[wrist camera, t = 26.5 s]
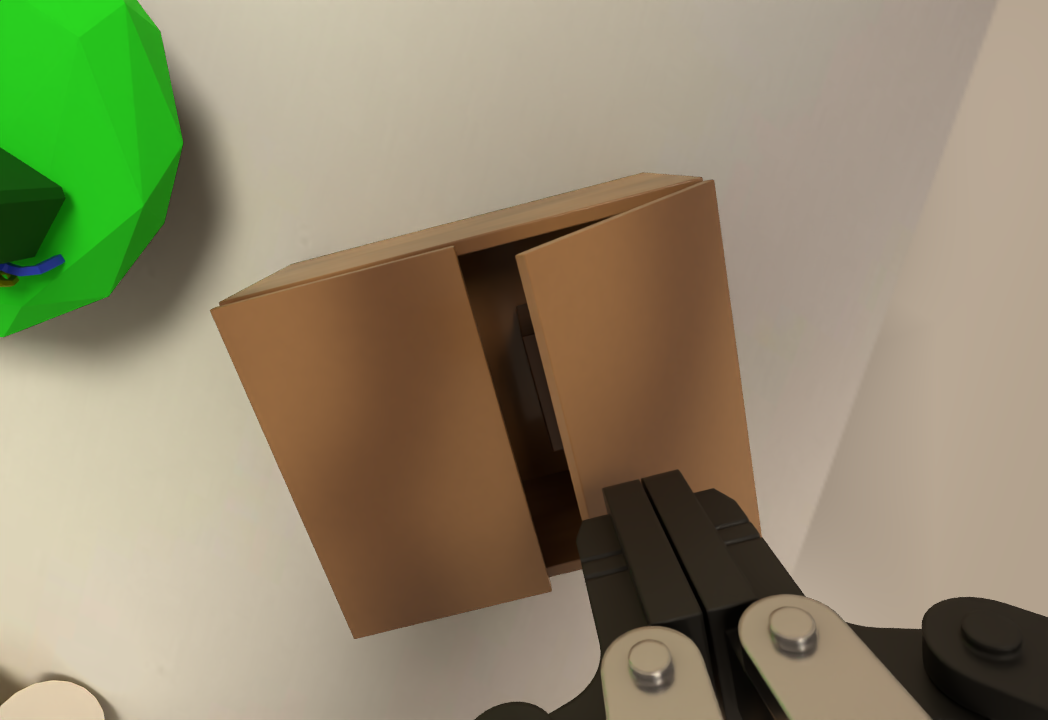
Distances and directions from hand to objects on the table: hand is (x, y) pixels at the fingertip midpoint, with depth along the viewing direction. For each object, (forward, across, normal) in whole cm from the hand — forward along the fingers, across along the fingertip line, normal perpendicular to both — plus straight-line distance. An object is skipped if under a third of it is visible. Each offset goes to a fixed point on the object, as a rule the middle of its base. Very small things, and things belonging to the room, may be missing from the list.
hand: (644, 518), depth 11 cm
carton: (+12, +2, 0) cm, 12 cm away
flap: (+3, -1, 0) cm, 3 cm away
